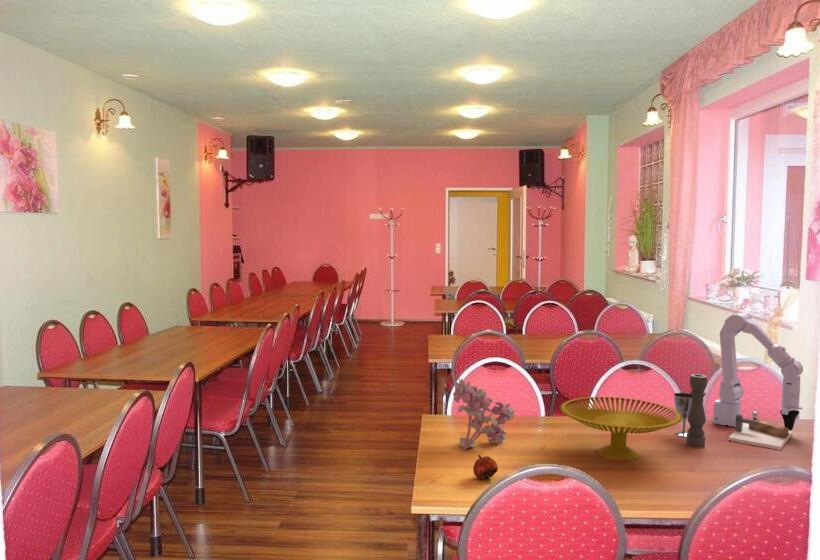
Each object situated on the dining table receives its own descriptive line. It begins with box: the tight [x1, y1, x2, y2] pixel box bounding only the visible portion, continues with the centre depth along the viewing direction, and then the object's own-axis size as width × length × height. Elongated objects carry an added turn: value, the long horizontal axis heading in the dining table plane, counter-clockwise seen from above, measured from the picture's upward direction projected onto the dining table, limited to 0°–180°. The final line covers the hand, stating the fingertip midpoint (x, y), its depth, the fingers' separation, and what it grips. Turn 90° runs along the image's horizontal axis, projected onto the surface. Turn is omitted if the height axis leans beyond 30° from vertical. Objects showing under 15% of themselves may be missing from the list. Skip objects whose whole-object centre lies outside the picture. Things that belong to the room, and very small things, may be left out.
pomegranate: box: [472, 454, 499, 484], centre depth 217 cm, size 7×7×10 cm
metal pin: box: [751, 410, 760, 420], centre depth 270 cm, size 2×2×3 cm
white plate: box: [728, 423, 793, 451], centre depth 263 cm, size 17×23×1 cm
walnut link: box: [748, 418, 790, 437], centre depth 265 cm, size 15×4×3 cm, turn 28°
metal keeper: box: [734, 413, 760, 432], centre depth 265 cm, size 8×2×6 cm, turn 53°
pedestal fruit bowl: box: [559, 396, 683, 461], centre depth 242 cm, size 40×40×15 cm
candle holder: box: [685, 373, 708, 448], centre depth 252 cm, size 6×6×25 cm
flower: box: [452, 378, 517, 452], centre depth 249 cm, size 20×22×25 cm
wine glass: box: [673, 391, 692, 438], centre depth 265 cm, size 8×8×15 cm
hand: (788, 429), depth 265 cm, fingers closed
